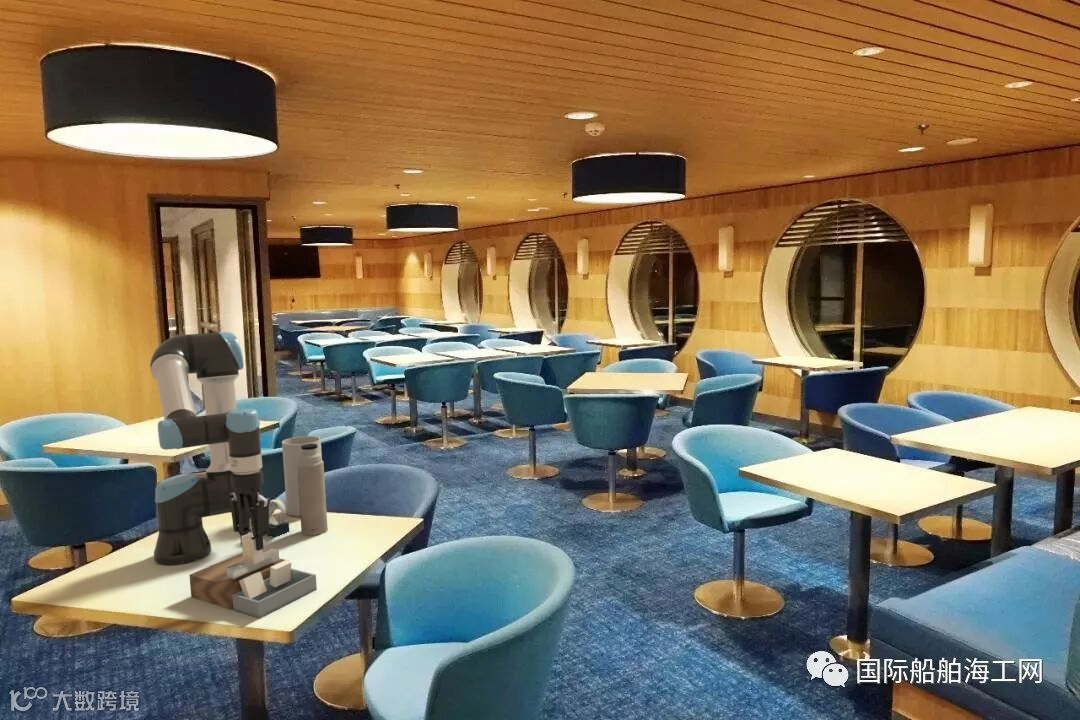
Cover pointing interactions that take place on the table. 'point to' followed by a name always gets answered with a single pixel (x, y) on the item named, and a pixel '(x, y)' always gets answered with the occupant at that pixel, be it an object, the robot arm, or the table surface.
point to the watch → (281, 525)
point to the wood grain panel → (222, 582)
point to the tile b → (280, 573)
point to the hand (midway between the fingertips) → (253, 560)
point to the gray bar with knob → (251, 561)
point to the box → (275, 595)
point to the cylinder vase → (294, 469)
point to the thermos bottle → (312, 491)
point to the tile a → (253, 585)
